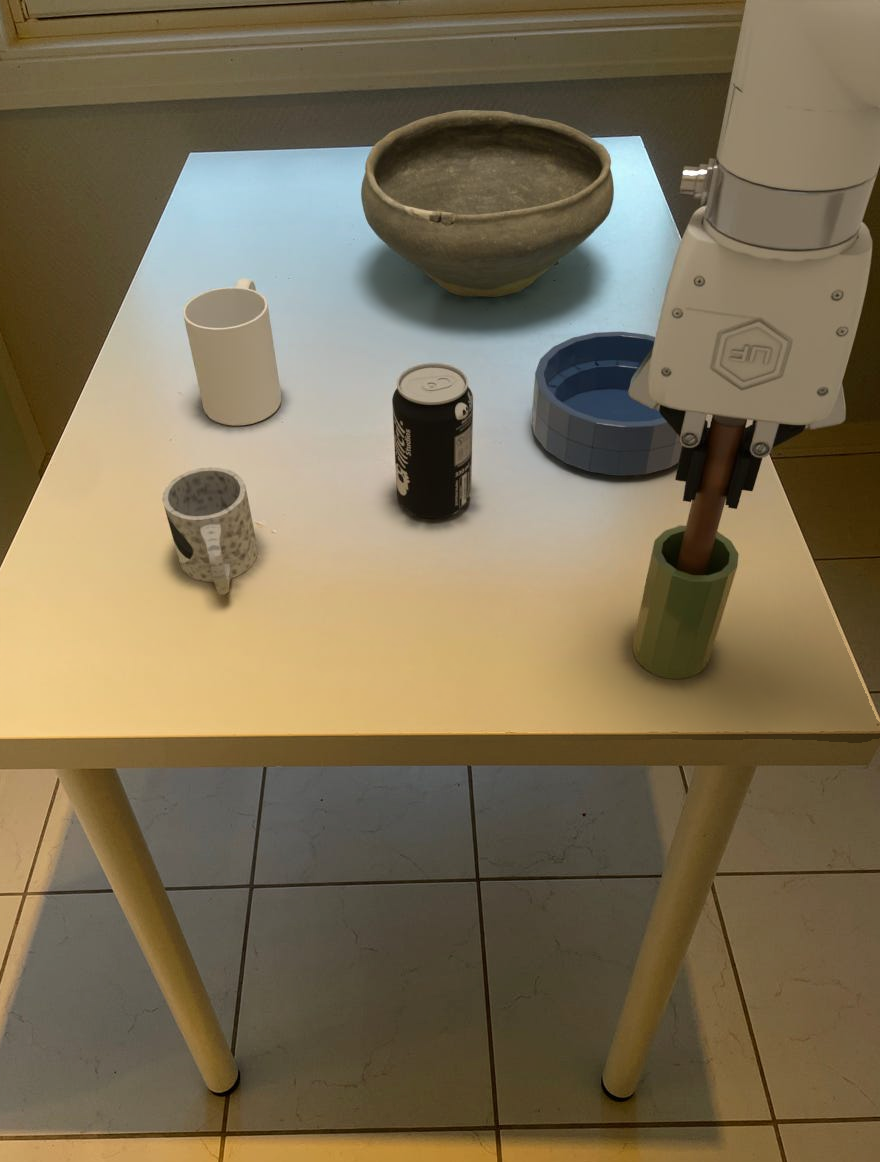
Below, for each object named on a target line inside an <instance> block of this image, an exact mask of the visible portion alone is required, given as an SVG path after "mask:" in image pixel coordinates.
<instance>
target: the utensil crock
mask: <svg viewBox="0 0 880 1162" xmlns="http://www.w3.org/2000/svg"><path fill="white" fill-rule="evenodd" d="M685 529H686V525H678V526H675V527H672V528H669V529H665V530H664V531H663V532H662V533H661V534H660V535H658V537H656V538H655V540H654V541H653V546H652V551H651V555H650V560H649V565H648V570H647V574H646V579H645V585H644V589H643V595H642V599H641V603H640V607H639V608H640V609H639V611H638V617H637V621H636V622H637V623H636V625H635V626H636V627H635V631H634V637H633V642H632V652H633V655H634V657H635V659H636V661H637V662H638V663H639V665H641V667H642V668H644V669H645V670H646V671H647V672H649V673H651V674H653V675H656V676H658V677H660V678H665V679H671V680H682V679H687V678H692V677H694V676H696V675H698V674H699V673H700V672H702V671H703V670H704V669H705V668H706V666H707V664H708V662H709V658H710V657H711V655H712V653H713V652H712V651H713V649H714V645H715V642H716V639H717V636H718V632H719V628H720V625H721V622H722V619H723V615H724V612H725V609H726V606H727V603H728V599H729V597H730V593H731V589H732V586H733V582H734V579H735V576H736V573H737V569H738V566H739V556H740V555H739V552H738V550H737V549H736V547H735V545H734V544H733V542H732V540H730V539H729V538H727V537H726V536H725V535H723V534H722V533H720V532H719V531H717V534H716V537H715V541H714V545H713V548H712V552H711V556H710V559H709V563H708V567H707V571H706V574H705V575H691V574H688V573H685V572H682V571H678V570H677V569H676V567H677V562H678V558H679V554H680V550H681V546H682V541H683V537H684V533H685Z"/></svg>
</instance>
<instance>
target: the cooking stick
mask: <svg viewBox="0 0 880 1162" xmlns="http://www.w3.org/2000/svg"><path fill="white" fill-rule="evenodd" d="M747 423H748V419H740V418H732V417H725V416H717V415H711V421H710V425H709V433H708V437H707V443H708V444H707V451H706V456H705V460H704V465H703V469H702V473H701V477H700V481H699V485H698V489H697V493H696V497H695V500H691V503H690V508H689V513H688V516H687V521H686V525H685V526H686V529H685V533H684V537H683V541H682V546H681V550H680V554H679V558H678V562H677V567H676V569H677V570H678V571H682V572H685V573H688V574H691V575H705V574H706V571H707V567H708V563H709V559H710V556H711V552H712V548H713V545H714V541H715V537H716V534H717V532H718V530H719V526H720V522H721V518H722V515H723V511H724V509H725V504H726V495H727V492H728V488H729V484H730V481H731V477H732V473H733V469H734V466H735V462H736V458H737V455H738V451H739V447H740V445H741V442H742V438H743V434H744V431H745V427H746V428H747Z"/></svg>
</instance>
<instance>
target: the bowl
mask: <svg viewBox="0 0 880 1162" xmlns="http://www.w3.org/2000/svg"><path fill="white" fill-rule="evenodd" d="M611 166H612V158H611V154H610V153H609V151H608V150H607V149H606V147H605V146H604V145H603V144H602V143H600V142H598V141H597V140H595V139H593V138H592V137H590V136H589V135H587V134H586V133H584V132H582V131H580V130H578V129H576V128H574V127H573V126H569V125H568V124H564V123H562V122H558V121H554V120H551V119H546V118H537V117H532V116H528V115H525V114H518V113H513V112H509V111H502V110H475V109H474V110H472V109H471V110H470V109H468V110H466V109H465V110H463V109H461V110H453V111H447V112H443V113H439V114H435V115H430V116H426V117H423V118H420V119H417V120H415V121H412V122H410V123H408V124H406V125H403V126H401V127H399V128H396V129H395V130H392V131H390V132H388V133H387V135H385V136H384V137H383V138H381V139H380V140H379V141H378V142H376V143H375V144H374V145H373V147H372V148H371V150H370V151H369V152H368V155H367V158H366V161H365V164H364V170H365V172H364V175H363V178H362V182H361V189H360V190H361V191H360V198H361V205H362V209H363V210H362V211H363V214H364V217H365V220H366V222H367V224H368V226H369V227H370V229H371V230H372V231H373V232H374V234H375V235H376V236H377V237H378V239H380V240H381V241H382V242H383V243H384V244H385V245H387V247H388V248H390V249H391V250H392V251H394V252H395V253H396V254H397V255H399V256H400V257H402V258H403V259H404V260H405V261H407V262H408V263H410V264H411V265H413V266H414V267H417V268H418V269H419V270H421V271H422V272H423V273H424V274H425V275H426V276H428V277H429V278H430V279H431V280H433V281H434V282H435V283H437V284H438V285H439V286H441V287H442V288H443V289H444V290H445V291H447V292H448V293H451V294H453V295H457V296H460V297H488V298H496V297H504V296H509V295H512V294H516V293H519V292H521V291H522V290H524V289H526V288H527V287H529V286H530V285H532V284H533V282H535V281H536V280H537V279H538V278H539V277H540V276H542V275H543V274H544V273H546V272H547V271H548V270H549V269H551V268H552V267H553V266H554V265H556V264H557V263H558V262H559V261H560V260H562V259H563V258H564V257H566V256H567V255H569V254H570V253H572V251H574V250H575V249H576V248H578V246H580V245H581V244H582V243H584V242H585V241H586V240H587V239H588V238H589V237H590V236H592V234H594V232H595V231H596V230H597V229H598V228H599V227H601V225H602V224H603V223H604V222H605V221H606V219H607V218H608V217H609V215H610V213H611V210H612V206H613V204H614V195H615V188H614V186H615V185H614V177H613V173H612V172H613V171H612V169H611Z"/></svg>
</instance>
